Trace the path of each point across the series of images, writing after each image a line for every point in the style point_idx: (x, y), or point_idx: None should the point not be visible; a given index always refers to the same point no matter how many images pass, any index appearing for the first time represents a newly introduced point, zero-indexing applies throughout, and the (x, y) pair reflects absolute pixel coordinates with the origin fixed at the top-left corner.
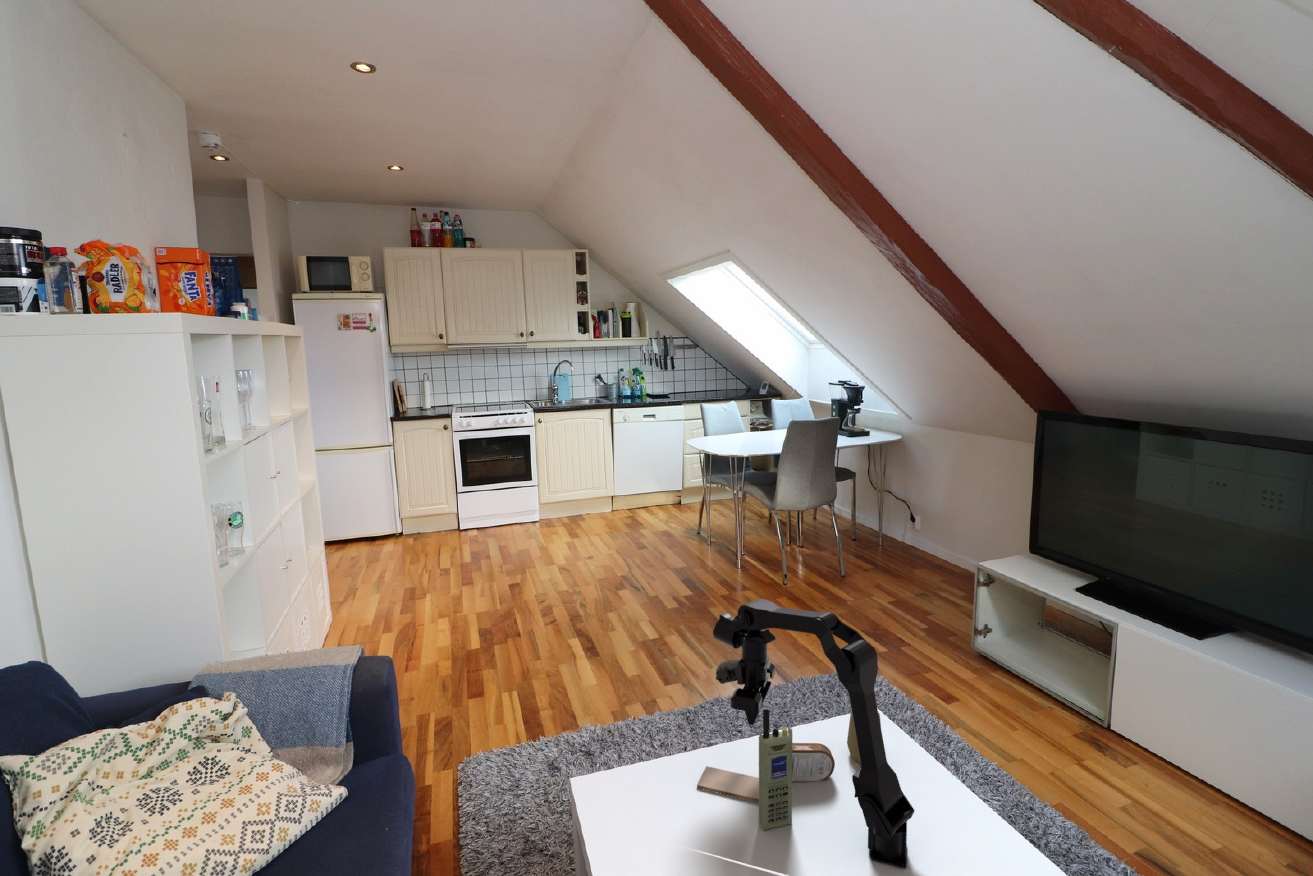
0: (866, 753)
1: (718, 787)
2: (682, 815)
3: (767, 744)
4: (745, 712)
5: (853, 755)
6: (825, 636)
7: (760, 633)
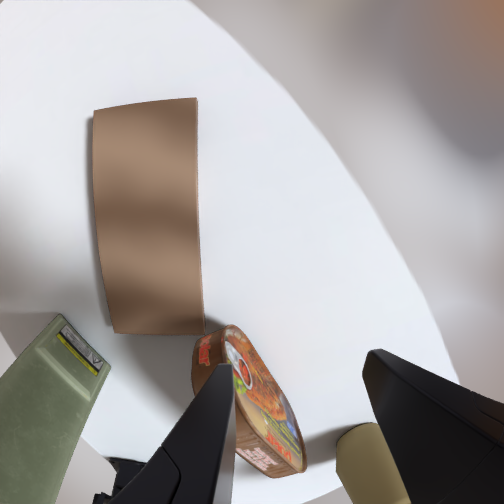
0: None
1: (102, 178)
2: (17, 130)
3: None
4: (155, 452)
5: (348, 444)
6: None
7: None
